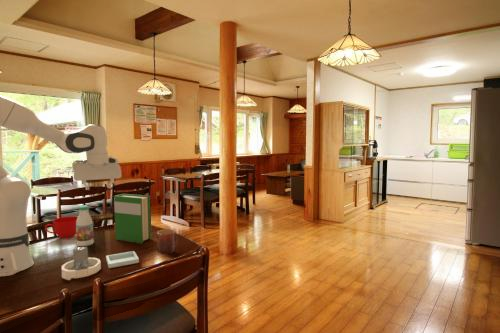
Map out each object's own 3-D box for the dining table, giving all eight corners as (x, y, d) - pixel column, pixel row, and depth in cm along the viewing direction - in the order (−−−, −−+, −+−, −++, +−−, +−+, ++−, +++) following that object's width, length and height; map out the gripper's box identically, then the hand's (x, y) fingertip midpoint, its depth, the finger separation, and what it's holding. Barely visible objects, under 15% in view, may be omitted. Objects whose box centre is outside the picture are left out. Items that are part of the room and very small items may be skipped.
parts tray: (109, 269, 132) (108, 264, 132) (106, 261, 141) (106, 255, 141) (138, 264, 138) (138, 258, 138) (134, 256, 147) (134, 250, 147)
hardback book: (151, 239, 172) (149, 195, 170) (141, 243, 165) (140, 198, 163) (125, 235, 178) (124, 193, 176) (115, 239, 171) (114, 195, 169)
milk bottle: (75, 243, 164) (73, 206, 162) (91, 240, 169) (89, 204, 167) (79, 247, 158) (77, 208, 156) (95, 244, 163) (93, 206, 161)
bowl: (61, 283, 120) (61, 274, 120) (62, 269, 132) (61, 261, 132) (102, 275, 127) (101, 266, 126) (99, 263, 139) (98, 255, 139)
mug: (179, 252, 152) (179, 231, 151) (163, 257, 146) (162, 235, 145) (166, 246, 161) (165, 226, 160) (150, 250, 154) (149, 230, 154)
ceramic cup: (42, 238, 173) (41, 220, 172) (76, 232, 185) (75, 215, 184) (49, 244, 164) (47, 225, 163) (83, 236, 176) (83, 219, 175)
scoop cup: (74, 274, 126) (73, 251, 125) (74, 269, 130) (73, 247, 129) (88, 271, 128) (87, 248, 127) (88, 266, 133) (87, 245, 132)
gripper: (72, 160, 139) (73, 191, 140) (121, 159, 149) (122, 188, 151) (71, 160, 145) (73, 189, 146) (119, 158, 155) (120, 186, 156)
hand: (98, 188), depth 148 cm, fingers open, 8 cm apart
